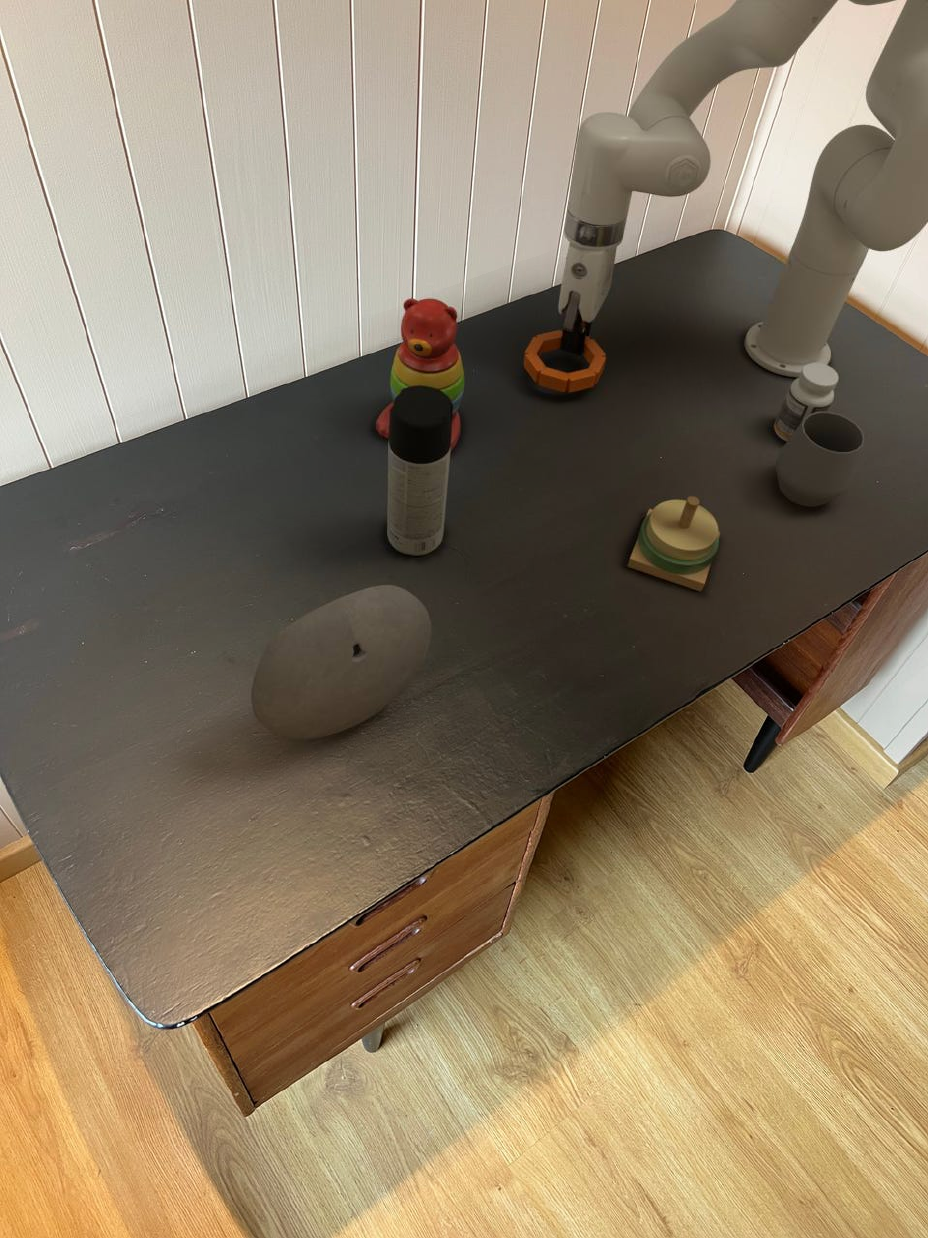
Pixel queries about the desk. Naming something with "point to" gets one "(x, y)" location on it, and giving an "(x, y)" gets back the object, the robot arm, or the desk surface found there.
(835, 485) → the cup
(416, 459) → the spray can
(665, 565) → the stacker
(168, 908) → the desk surface
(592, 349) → the orange ring
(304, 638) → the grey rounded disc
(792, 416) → the pill bottle
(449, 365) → the stacking bear
